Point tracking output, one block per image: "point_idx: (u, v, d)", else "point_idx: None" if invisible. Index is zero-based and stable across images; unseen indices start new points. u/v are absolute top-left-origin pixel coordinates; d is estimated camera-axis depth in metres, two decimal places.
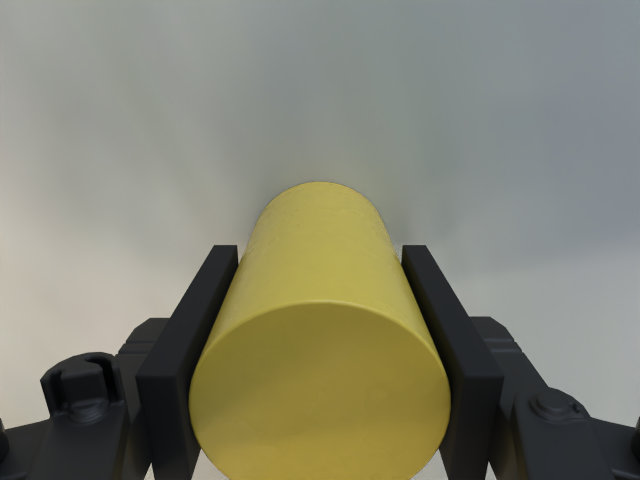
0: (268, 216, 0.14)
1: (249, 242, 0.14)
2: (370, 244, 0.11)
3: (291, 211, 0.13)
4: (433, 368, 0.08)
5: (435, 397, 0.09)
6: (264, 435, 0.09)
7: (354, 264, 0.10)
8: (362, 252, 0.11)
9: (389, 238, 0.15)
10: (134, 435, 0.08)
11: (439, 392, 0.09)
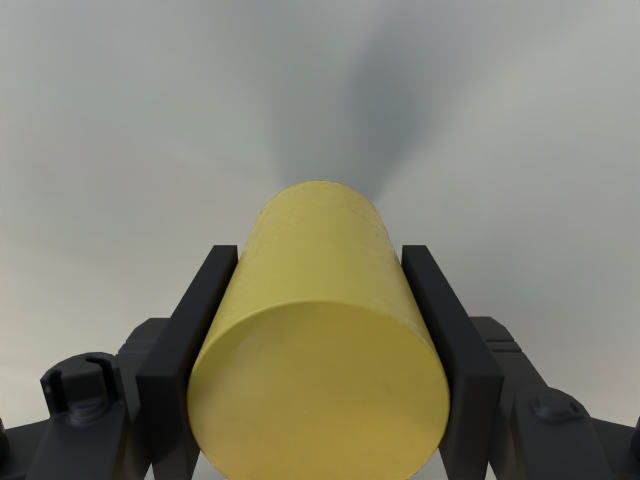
0: (267, 215, 0.14)
1: (248, 241, 0.14)
2: (369, 243, 0.11)
3: (289, 210, 0.13)
4: (432, 366, 0.08)
5: (434, 396, 0.09)
6: (263, 434, 0.09)
7: (353, 262, 0.10)
8: (361, 251, 0.10)
9: (388, 237, 0.15)
10: (134, 435, 0.08)
11: (438, 391, 0.09)
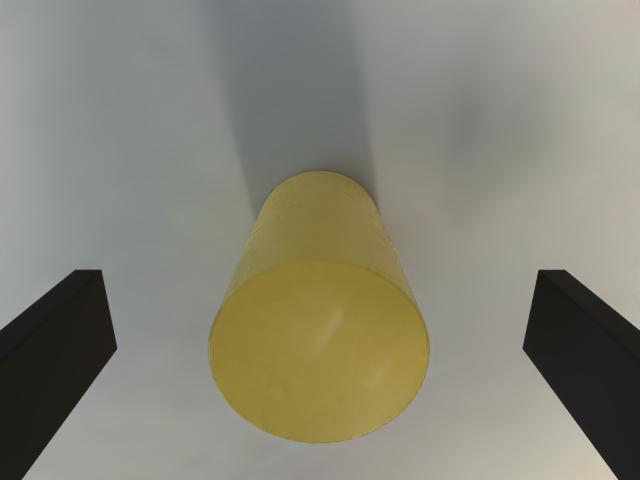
0: (273, 200, 0.16)
1: (256, 223, 0.15)
2: (363, 221, 0.13)
3: (293, 194, 0.15)
4: (414, 317, 0.10)
5: (416, 343, 0.10)
6: (272, 377, 0.11)
7: (348, 234, 0.11)
8: (355, 226, 0.12)
9: (381, 220, 0.16)
10: None
11: (419, 339, 0.10)
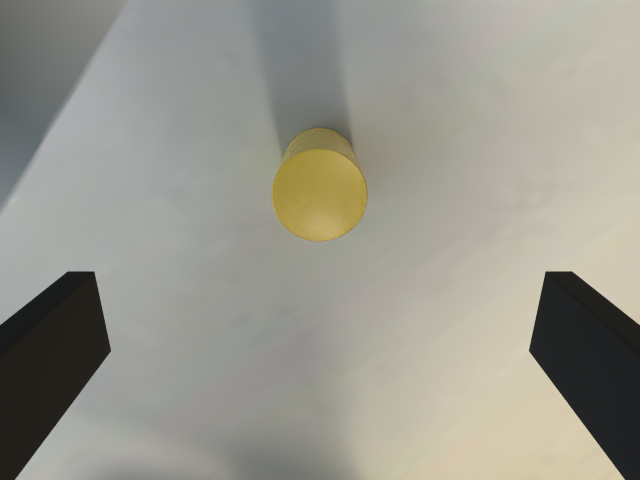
0: (294, 141, 0.30)
1: (286, 151, 0.29)
2: (340, 144, 0.27)
3: (305, 136, 0.29)
4: (359, 175, 0.24)
5: (361, 188, 0.24)
6: (299, 205, 0.25)
7: (332, 145, 0.25)
8: (336, 144, 0.26)
9: (353, 152, 0.30)
10: None
11: (362, 186, 0.24)
